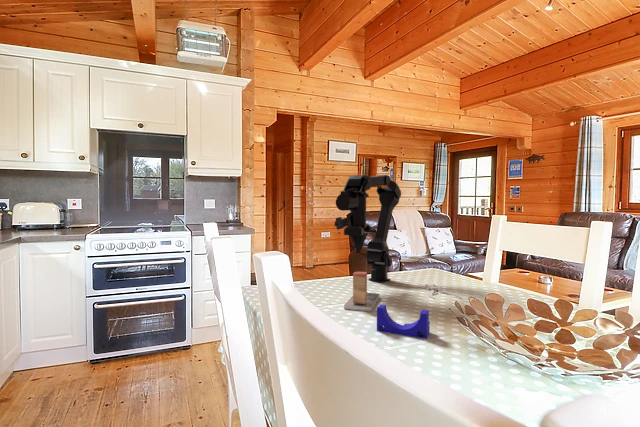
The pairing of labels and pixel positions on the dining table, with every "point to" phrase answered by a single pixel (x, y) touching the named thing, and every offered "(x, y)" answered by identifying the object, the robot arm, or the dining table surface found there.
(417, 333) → the blue cradle bracket
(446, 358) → the dining table surface
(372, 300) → the flange plate
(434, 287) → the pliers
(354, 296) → the marker post
